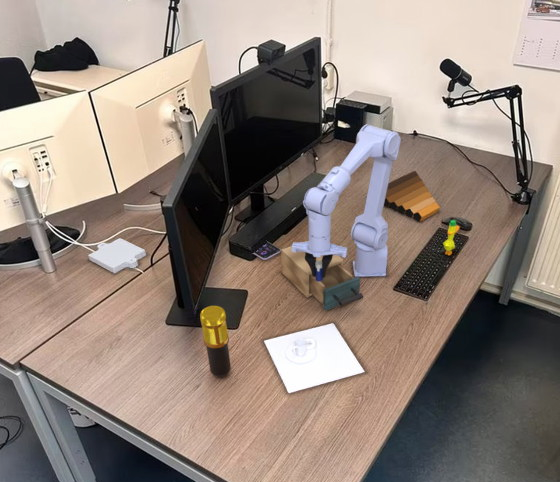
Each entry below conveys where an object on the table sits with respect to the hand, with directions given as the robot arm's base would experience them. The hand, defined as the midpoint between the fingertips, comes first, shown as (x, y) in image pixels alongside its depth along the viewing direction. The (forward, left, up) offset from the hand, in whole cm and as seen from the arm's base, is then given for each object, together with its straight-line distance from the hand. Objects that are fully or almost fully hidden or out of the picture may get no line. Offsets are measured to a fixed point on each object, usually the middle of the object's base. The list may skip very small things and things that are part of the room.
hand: (319, 275), depth 153 cm
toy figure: (-42, -25, -11) cm, 50 cm away
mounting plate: (+65, -27, -11) cm, 71 cm away
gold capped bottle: (+28, +30, -11) cm, 42 cm away
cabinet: (+2, -13, -10) cm, 17 cm away
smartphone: (+19, -31, -10) cm, 38 cm away
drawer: (-4, -3, -9) cm, 11 cm away
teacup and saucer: (+3, +21, -10) cm, 24 cm away
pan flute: (-38, -62, -10) cm, 74 cm away
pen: (0, 0, -1) cm, 1 cm away
